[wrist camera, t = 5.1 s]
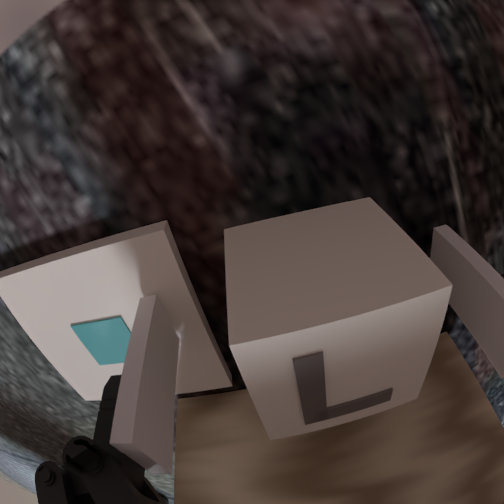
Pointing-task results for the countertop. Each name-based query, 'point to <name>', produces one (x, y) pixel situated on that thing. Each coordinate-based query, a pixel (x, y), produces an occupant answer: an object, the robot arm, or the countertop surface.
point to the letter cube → (330, 315)
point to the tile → (112, 308)
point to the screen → (348, 449)
